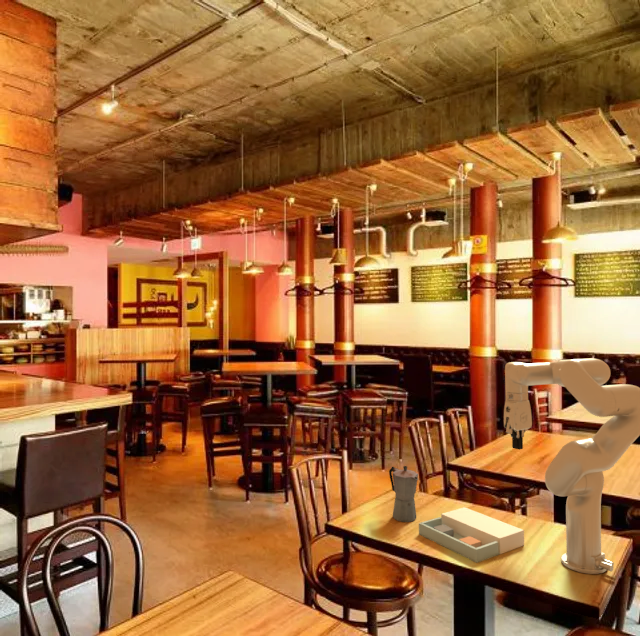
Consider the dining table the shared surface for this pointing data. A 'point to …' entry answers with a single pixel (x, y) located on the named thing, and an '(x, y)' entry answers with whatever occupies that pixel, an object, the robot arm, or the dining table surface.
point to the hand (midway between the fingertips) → (517, 448)
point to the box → (457, 542)
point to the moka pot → (404, 493)
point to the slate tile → (445, 530)
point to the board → (484, 529)
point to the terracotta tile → (471, 541)
